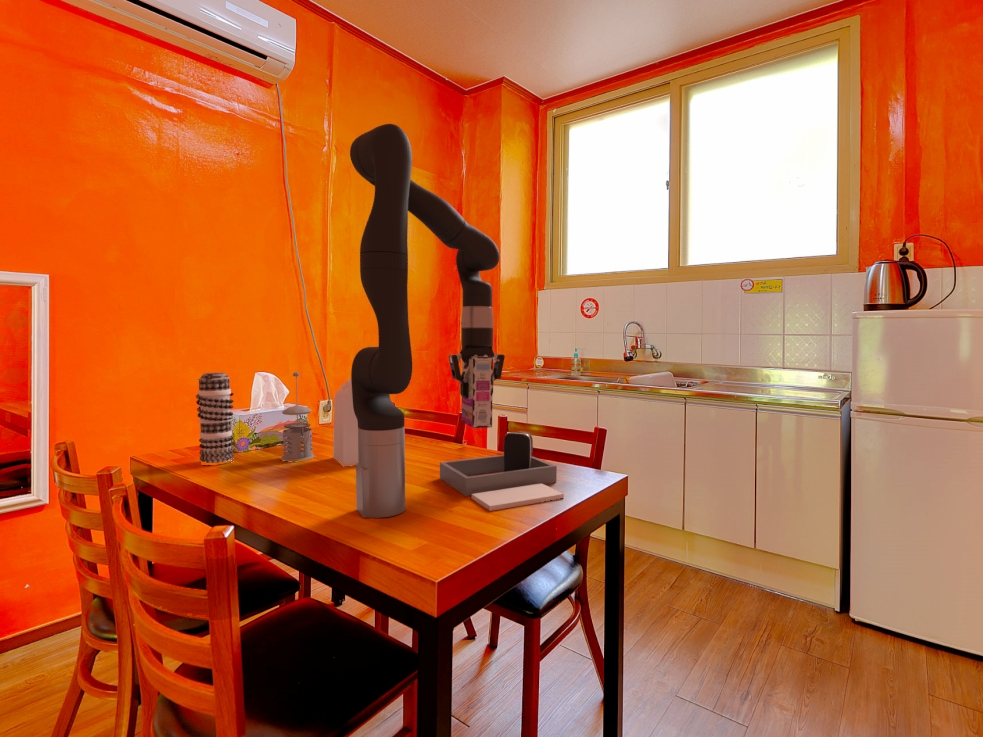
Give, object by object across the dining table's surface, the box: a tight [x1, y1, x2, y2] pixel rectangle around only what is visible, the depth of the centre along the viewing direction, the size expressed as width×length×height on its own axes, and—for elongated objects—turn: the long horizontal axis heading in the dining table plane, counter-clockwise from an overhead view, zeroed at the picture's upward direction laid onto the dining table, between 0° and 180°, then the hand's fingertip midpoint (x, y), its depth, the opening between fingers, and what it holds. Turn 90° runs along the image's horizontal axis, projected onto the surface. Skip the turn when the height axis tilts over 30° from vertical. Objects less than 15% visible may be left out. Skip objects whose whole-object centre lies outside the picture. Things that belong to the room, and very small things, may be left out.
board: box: [471, 483, 565, 512], centre depth 113 cm, size 18×9×1 cm, turn 117°
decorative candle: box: [195, 372, 235, 463], centre depth 144 cm, size 9×9×25 cm
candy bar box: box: [461, 356, 494, 429], centre depth 123 cm, size 11×5×16 cm, turn 17°
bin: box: [439, 454, 558, 497], centre depth 127 cm, size 24×16×4 cm, turn 117°
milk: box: [332, 377, 358, 467], centre depth 146 cm, size 12×12×26 cm
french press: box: [280, 371, 315, 461], centre depth 148 cm, size 10×12×25 cm
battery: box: [503, 431, 534, 472], centre depth 129 cm, size 7×4×11 cm, turn 68°
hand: (476, 397), depth 123 cm, fingers closed on candy bar box, 5 cm apart
